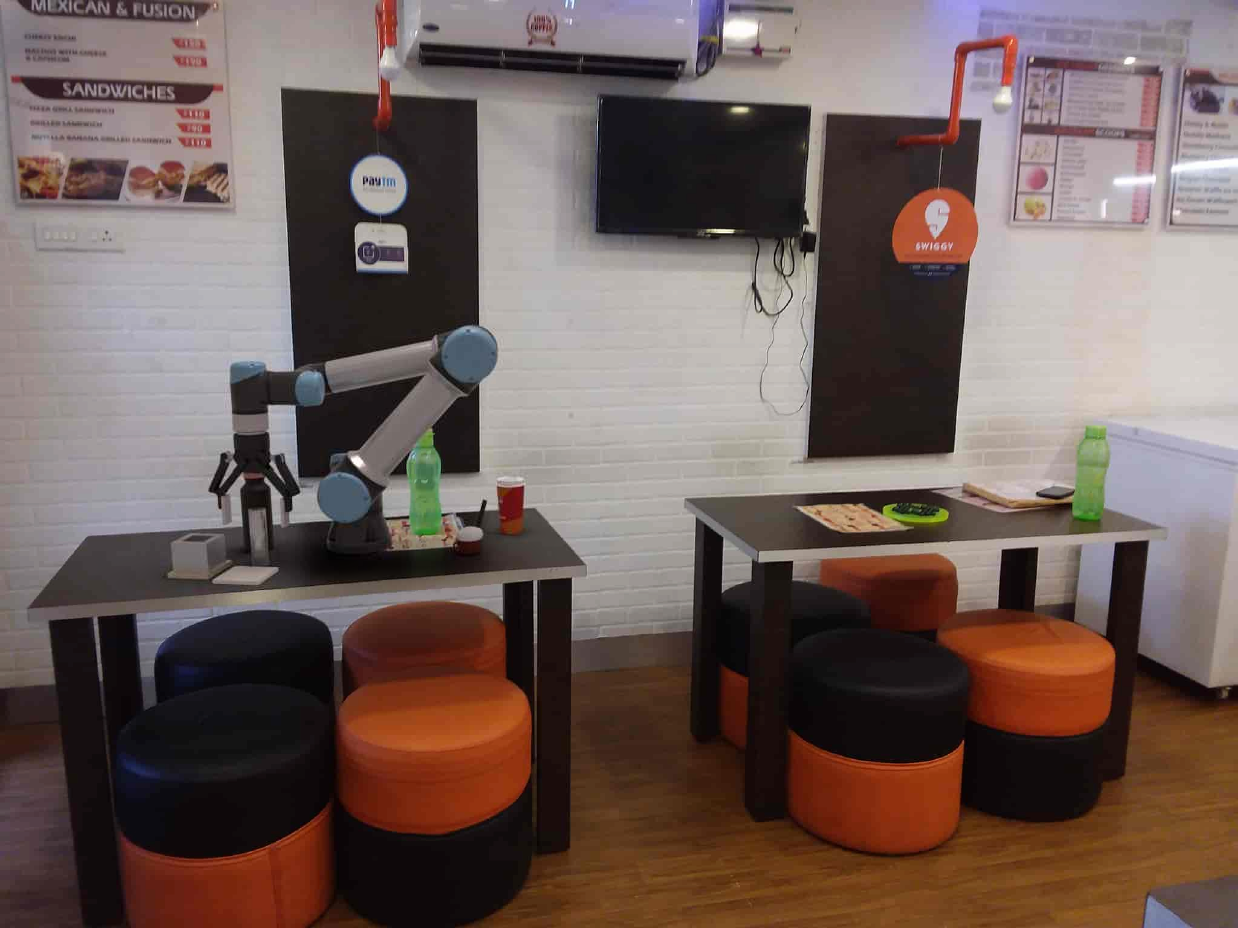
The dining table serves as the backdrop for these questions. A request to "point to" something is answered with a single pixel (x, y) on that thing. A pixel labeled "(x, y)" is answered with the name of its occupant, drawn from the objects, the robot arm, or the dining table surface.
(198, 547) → the grey box
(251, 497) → the bottle
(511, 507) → the paper cup
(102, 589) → the dining table surface
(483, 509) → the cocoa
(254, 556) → the metal cylinder
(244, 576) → the pad
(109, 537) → the dining table surface
